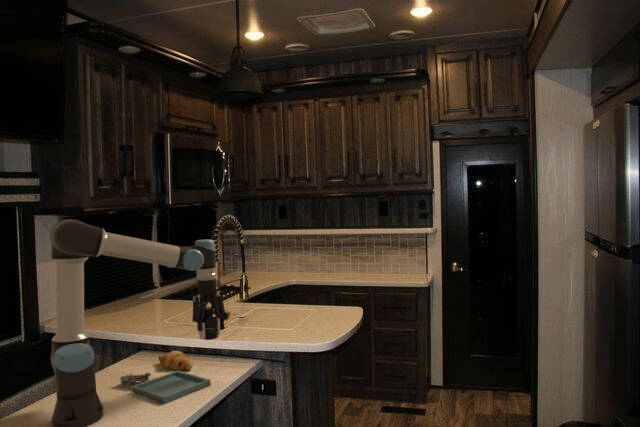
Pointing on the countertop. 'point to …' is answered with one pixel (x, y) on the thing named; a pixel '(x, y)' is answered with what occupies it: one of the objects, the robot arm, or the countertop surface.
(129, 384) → the egg carton
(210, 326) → the supplement bottle
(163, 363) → the croissant
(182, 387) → the tray
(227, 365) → the countertop surface
